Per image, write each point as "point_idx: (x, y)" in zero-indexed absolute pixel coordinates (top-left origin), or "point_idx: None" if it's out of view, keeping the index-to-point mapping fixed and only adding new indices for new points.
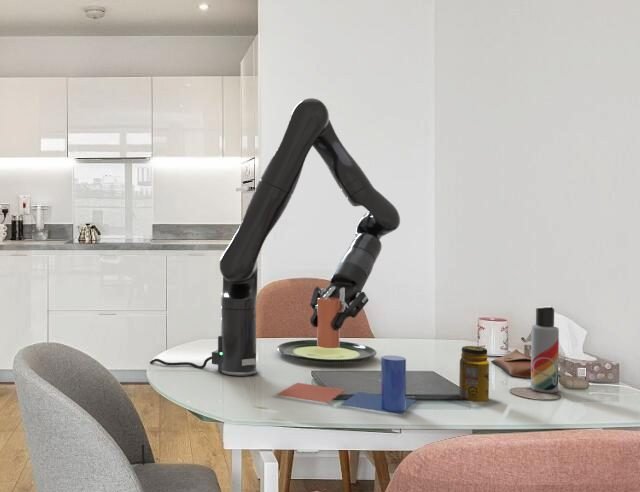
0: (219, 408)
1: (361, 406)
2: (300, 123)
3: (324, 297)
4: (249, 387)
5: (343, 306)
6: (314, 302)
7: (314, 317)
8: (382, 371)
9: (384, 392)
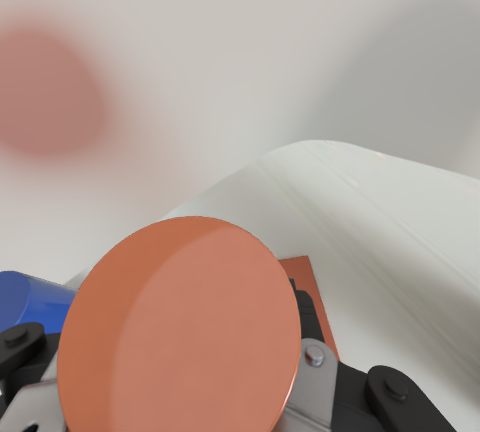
0: (321, 155)
1: None
2: None
3: (260, 387)
4: (395, 282)
5: None
6: (389, 407)
7: None
8: (55, 286)
9: None
